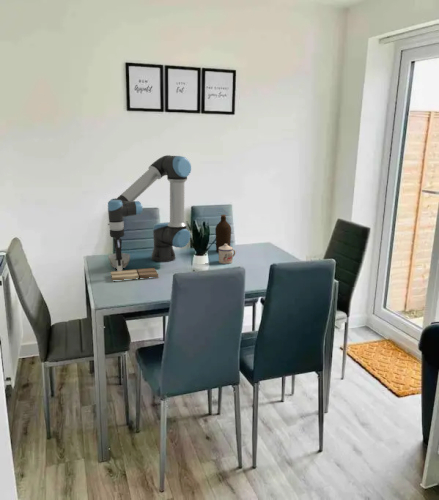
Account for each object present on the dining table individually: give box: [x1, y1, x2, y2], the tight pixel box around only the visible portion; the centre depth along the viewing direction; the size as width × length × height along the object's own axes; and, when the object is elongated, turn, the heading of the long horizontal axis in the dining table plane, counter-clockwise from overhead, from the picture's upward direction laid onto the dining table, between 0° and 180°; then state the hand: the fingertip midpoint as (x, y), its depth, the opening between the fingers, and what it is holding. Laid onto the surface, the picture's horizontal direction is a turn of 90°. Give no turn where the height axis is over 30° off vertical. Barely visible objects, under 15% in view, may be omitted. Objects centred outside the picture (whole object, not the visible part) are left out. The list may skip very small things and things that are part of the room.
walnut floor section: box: [136, 267, 159, 279], centre depth 249 cm, size 12×10×2 cm
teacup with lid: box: [218, 244, 236, 265], centre depth 275 cm, size 12×9×12 cm
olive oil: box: [214, 214, 232, 254], centre depth 297 cm, size 11×11×25 cm
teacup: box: [107, 252, 131, 270], centre depth 262 cm, size 15×12×8 cm
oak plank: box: [110, 268, 140, 281], centre depth 246 cm, size 12×14×2 cm
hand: (119, 270), depth 244 cm, fingers closed
